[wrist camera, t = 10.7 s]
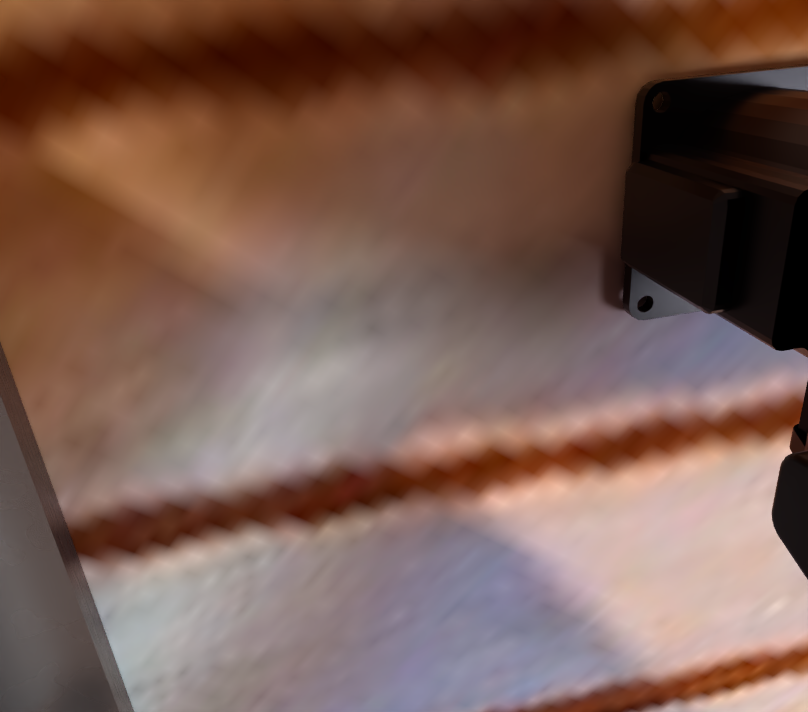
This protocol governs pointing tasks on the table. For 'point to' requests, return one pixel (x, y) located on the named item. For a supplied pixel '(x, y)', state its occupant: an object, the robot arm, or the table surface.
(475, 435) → the table surface
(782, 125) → the robot arm
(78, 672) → the roll stand
